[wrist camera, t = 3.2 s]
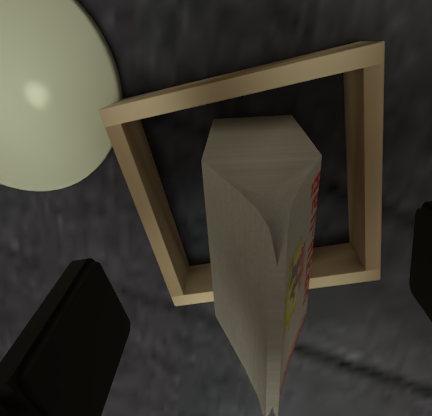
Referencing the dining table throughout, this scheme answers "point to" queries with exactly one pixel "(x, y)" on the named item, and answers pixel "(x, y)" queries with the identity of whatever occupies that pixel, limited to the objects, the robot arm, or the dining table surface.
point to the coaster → (52, 94)
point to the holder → (243, 85)
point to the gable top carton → (261, 239)
